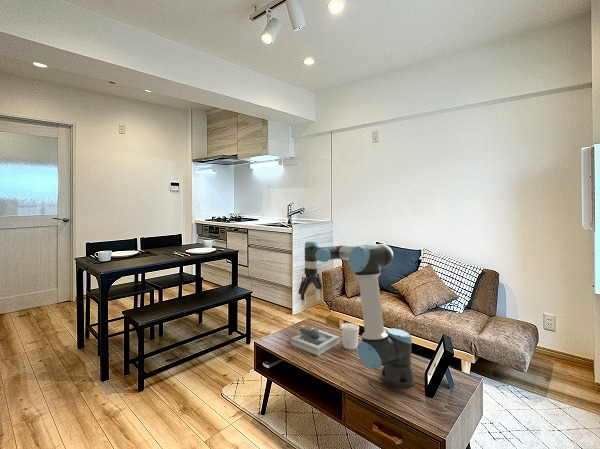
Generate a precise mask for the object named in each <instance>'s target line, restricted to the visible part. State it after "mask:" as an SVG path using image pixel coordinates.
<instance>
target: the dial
mask: <svg viewBox="0 0 600 449" xmlns="http://www.w3.org/2000/svg"><path fill="white" fill-rule="evenodd" d="M319 330H320V329H318V328H315V329H311V328H309V327H307V326H306V325H305V324H301V325H299V332H300V334H301V333H304V334H306V335H305V337H304V341H307V342H309V343H312V344H315V345H320V344H322V343H323V342H325V341H326V336H325V335H323V334H321V333H319Z"/></svg>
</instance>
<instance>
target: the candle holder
mask: <svg viewBox="0 0 600 449" xmlns="http://www.w3.org/2000/svg"><path fill="white" fill-rule="evenodd" d="M341 330H342V334H341V336H342V346H343V348H345V349H346V350H357V349H358V345H359V333H360V326H359V324H356V323H353V322H345V323H343V324H342V325H341Z"/></svg>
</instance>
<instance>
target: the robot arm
mask: <svg viewBox="0 0 600 449" xmlns="http://www.w3.org/2000/svg"><path fill="white" fill-rule="evenodd" d="M393 259H394V252H393V250H392V248H391V247H390V246H389V245H387V244H384V243H377V244H375V243H374V244H363V245H356V246H354V245H353V246H346V245H335V246H334V245H333V246H325V247H320V246H319V244H318V243H317V241H306V242H305V243H304V275H305V276H302V277H301V282H300V285H299V289H298V295H300V302H301V303H300V304H301V306H307V305H306V304H307V303H306V302H307V301H306V296H307V294H306V292H307V290H308V288H309V285H311V284H313V285H314V287H315V290H314V297H315V298H314V299H315V300H318V301H319V300H320V294H321V290H322V287H323V284H322V281H321V279H320V274H319V273H318V262H320V263H321V262H322V263H327V262H328V261H332V260H348V266H349V268H350V270H351V271H353V273H354V275H355V277H356V278H357V279H358V284H359V291H360V301H361V309H362V310H361V311H362V319H363V320H362V321H363V329H364V332H363V333H362V334H361V342H358V346H357V354H358V356H359V358H360V360H361V362H362V364H363V365H365V366H366V367H367V368H369V369H377V368H382V369H381V372H380V378H381V380H382V381H383V382H384V383H385V384H387V385H389V386H390V387H394V388H398V389H399V388H400V389H406V388H409V387H410V388H411V387H412V386H413V385H415V375H414V370H413V368H412V367H413V366H412V344H413V342H412V340H413V339H412V335H411V334H410V333H409V332H407V331H405V330H402V329H399V328H387V329H386V330H384V320H383V319H384V318H383V311H382V302H381V294H380V293H381V292H380V285H379V277H380V275H381V274H382V272H381V271H382V270H381V269H385V268H388V267H389V266H390V265H391V264H392V262H393Z"/></svg>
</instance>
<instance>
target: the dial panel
mask: <svg viewBox="0 0 600 449" xmlns="http://www.w3.org/2000/svg"><path fill="white" fill-rule="evenodd" d="M310 329H316V328H314V327H311V328H310ZM319 333H321V334H323V335H325V336H326V341H325V342H323V343H322V344H320V345H315V344H312V343H309V342H307V341H304V337H305V335H306V334H304V333H301V332H300V333H299V334H296V335H294V336H293V337H291V338H290V341H291V342H290V343H291V344H290V345H291V346H294V347H295V348H298V349H301V350H304V351H305V352H308V353H311V354H313V355H316V356H321V355H323V354H324V353H325V352H327V351H329V350H331V349H332V348H334V347H335V346H337V345H339V344H340V336H339V335H336V334H332V333H330V332H326V331H323V330H320V329H319Z"/></svg>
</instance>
